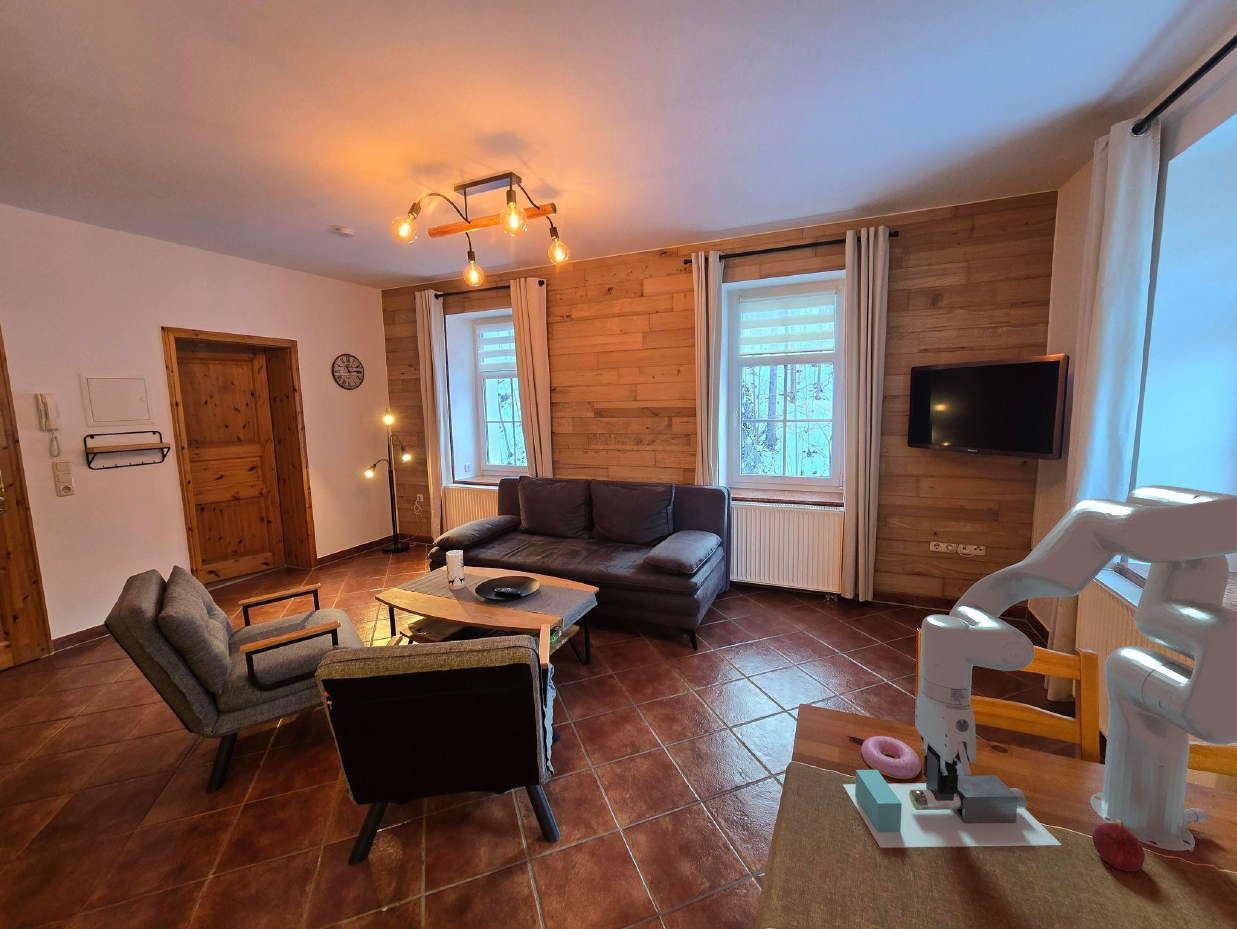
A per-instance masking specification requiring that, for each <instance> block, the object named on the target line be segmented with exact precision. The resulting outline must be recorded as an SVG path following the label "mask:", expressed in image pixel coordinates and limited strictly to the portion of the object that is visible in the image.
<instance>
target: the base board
mask: <svg viewBox="0 0 1237 929" xmlns="http://www.w3.org/2000/svg"><path fill="white" fill-rule="evenodd" d="M887 784H888V785H889V787H890V788H891V789H892V791H893V792H894V793H895V795H896V796H897V798H898V799H899V800H900V802H901V803H902V806H901V832H877V831H876V829H875V828H874V826H873V824H872V823H871V821H870V819H869V818H868V816H867V815H866V813H865V811H864V810H863V808H862V806H861V805H860V803H859V802H858V800H857V798H856V797H855V786H856V783H854V784H853V783H850V784H848V783H846V784H844V783H843V784H842V786H843V788H844V789H845V791H846V792H847V794H848V795H849V797H850V799H851V801H852V802H853V804H854V806H855V808H856V809H857V811H858V812H859V814H860V816H861V818H862V820H863V821H864V822H865V824H866V826H867V827H868V829H869V831H870V832H871V834H872V836H873V837H874V839H875V841H876V843H877V844H878V846H879V847H880V848H882V849H884V848H889V849H891V848H893V849H894V848H946V847H947V848H950V847H953V848H957V847H959V848H960V847H961V848H962V847H964V848H965V847H967V848H968V847H1022V846H1023V847H1025V846H1027V847H1028V846H1031V847H1032V846H1033V847H1035V846H1036V847H1037V846H1038V847H1039V846H1041V847H1043V846H1046V847H1047V846H1063V845H1062V843H1060V842H1059V840H1057V839H1056V837H1055V836H1054V835H1052V833H1051V832H1049V831H1048V829H1047V828H1045V827H1044V826H1043V825H1042V824H1041V822H1039V821H1038V820H1037V819H1036V818H1035V817H1034V816H1033V815H1032V814H1031V813H1030V812H1029V811H1028V810H1027V808H1025V809H1017V815H1016V823H972V824H964V823H963V821H962V820H961V819H960V818H959V817H958V815H957V814H956V813H955V812H954V811H953V810H916V809H915V808H914V807H913V805H912V803H911V800H910V796H909V792H910V790H927V789H926V782H925V783H922V782H919V783H918V782H916V783H915V782H914V783H913V782H912V783H909V782H908V783H887Z"/></svg>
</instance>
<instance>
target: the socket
mask: <svg viewBox="0 0 1237 929" xmlns="http://www.w3.org/2000/svg"><path fill="white" fill-rule="evenodd" d="M855 784H856V786H855V797H856V798H857V800H858V802H859V803H860V805H861V806H862V808H863V810H864V811H865V813H866V815H867V816H868V818H869V819H870V821H871V823H872V824H873V826H874V828H875V829H876V831H877V832H901V806H902V803H901V802H900V800H899V799H898V798H897V796H896V795H895V793H894V792H893V791H892V789H891V788H890V787H889V785H888V784H889V783H887V781H886V779H885V778H884V777H883V774H881V773H879V771H878V770H874V769H855Z"/></svg>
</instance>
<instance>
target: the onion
mask: <svg viewBox="0 0 1237 929" xmlns="http://www.w3.org/2000/svg"><path fill="white" fill-rule="evenodd" d="M1091 838H1092V843H1093V846H1094V848H1095V850H1096V851H1097V853H1098V854H1099V856H1100V857H1101V858H1102V859H1103V860H1104V862H1106V863H1107V864H1108V865H1110V866H1112V867H1113V868H1115V869H1118V870H1121V871H1124V872H1135V871H1137V870H1140V869H1141V868H1142V867H1143V865H1144V863H1145V857H1146V855H1145V850H1144V848H1143V846H1142V843H1141V841H1139V840H1138V839H1137V838H1136V836H1135V835H1134V834H1133V833H1131V832H1130V831H1129V830H1128V829H1127V828H1125V827H1124V825H1123V822H1122V821H1121V820H1119V819H1117V820H1116V821H1115V822H1114V823H1108V822H1104V823H1101V824H1099V825H1097V826H1096V827H1095V829H1094V831H1092V836H1091Z"/></svg>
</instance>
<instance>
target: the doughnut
mask: <svg viewBox="0 0 1237 929" xmlns="http://www.w3.org/2000/svg"><path fill="white" fill-rule="evenodd" d="M860 752H861V755H862V758H863V760H864V761H865V763H866V764H867V765H868V766H870V767H871V769H872V770H878V771H879V773H880V774H881V775H884V776H887V777H888V778H889V777H890V778H893V779H899V780H909V779H910V780H911V779H914V778H916V777H917V776H918V775H919V773H920V772H921V770H922V764H921V760H920V757H919V755H918V754H917V753H916V751H915V750H914V749H913V748H911V746H909V744H907V743H905V742H903V741H902V740H900V739H896V738H895V737H894V738H893V737H892V736H885V735H874V736H870V737H868V738H866V739H865V740H864V741H863V742H862V745H861V746H860ZM886 755H887V756H886ZM890 756H892V757H890ZM893 757H894V758H893Z"/></svg>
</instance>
